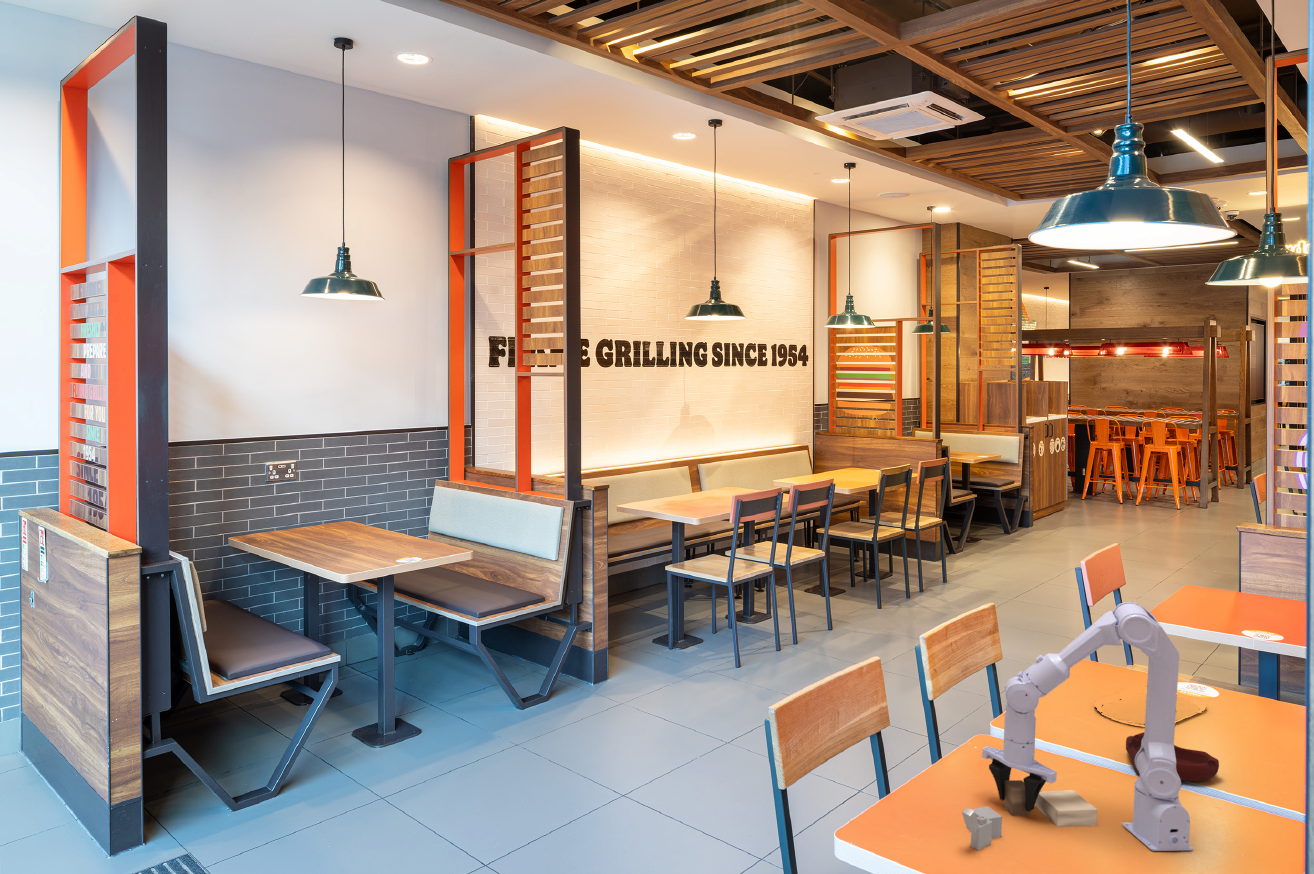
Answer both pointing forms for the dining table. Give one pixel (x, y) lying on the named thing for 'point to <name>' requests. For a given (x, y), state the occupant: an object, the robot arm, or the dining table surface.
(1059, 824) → the birch block
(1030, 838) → the dining table surface
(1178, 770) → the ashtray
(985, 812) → the grey block
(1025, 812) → the walnut block
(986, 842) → the lighter
